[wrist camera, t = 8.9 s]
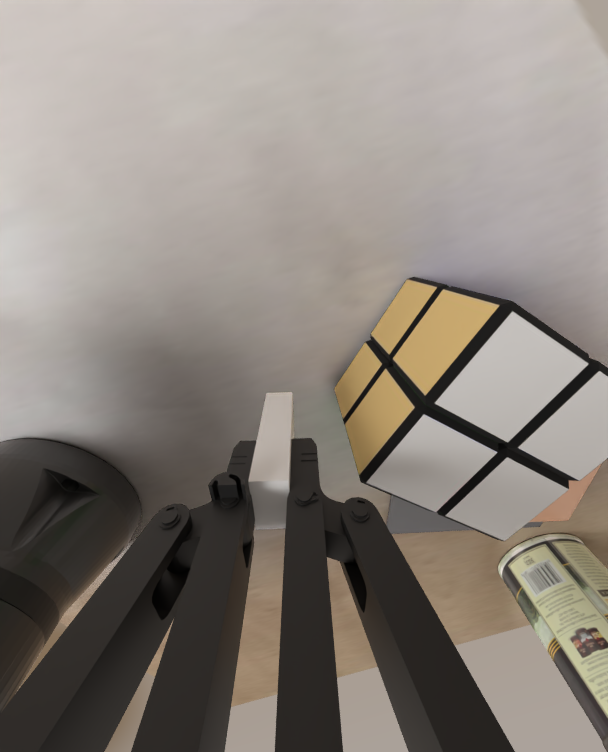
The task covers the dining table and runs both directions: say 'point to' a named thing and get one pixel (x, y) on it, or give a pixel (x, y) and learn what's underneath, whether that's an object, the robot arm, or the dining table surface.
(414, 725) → the robot arm
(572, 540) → the coffee can
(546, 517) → the tile
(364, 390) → the puzzle cube
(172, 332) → the dining table surface
